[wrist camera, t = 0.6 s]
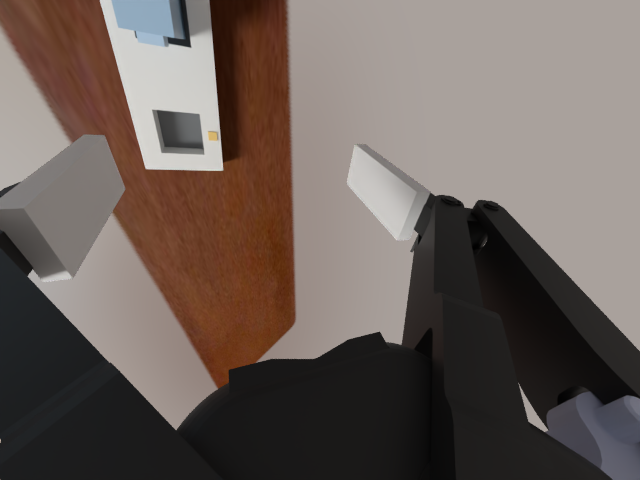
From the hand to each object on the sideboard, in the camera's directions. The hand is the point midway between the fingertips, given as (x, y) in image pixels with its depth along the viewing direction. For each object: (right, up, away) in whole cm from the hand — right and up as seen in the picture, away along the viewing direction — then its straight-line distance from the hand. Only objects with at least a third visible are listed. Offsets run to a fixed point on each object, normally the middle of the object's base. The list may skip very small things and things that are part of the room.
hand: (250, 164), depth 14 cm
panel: (-13, +15, +14) cm, 24 cm away
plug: (-12, +19, +11) cm, 25 cm away
